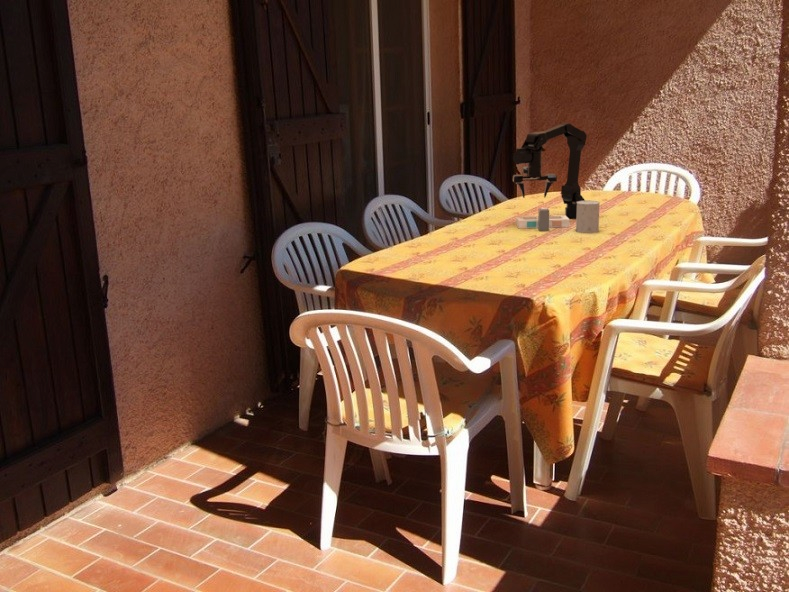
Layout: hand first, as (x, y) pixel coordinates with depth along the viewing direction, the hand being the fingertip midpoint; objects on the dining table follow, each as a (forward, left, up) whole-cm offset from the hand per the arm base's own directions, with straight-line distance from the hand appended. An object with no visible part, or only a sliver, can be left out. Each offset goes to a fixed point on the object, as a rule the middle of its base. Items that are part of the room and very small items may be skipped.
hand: (534, 197), depth 388 cm
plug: (-2, +13, -12) cm, 18 cm away
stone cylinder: (-20, +17, -12) cm, 29 cm away
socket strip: (-3, +3, -12) cm, 13 cm away
